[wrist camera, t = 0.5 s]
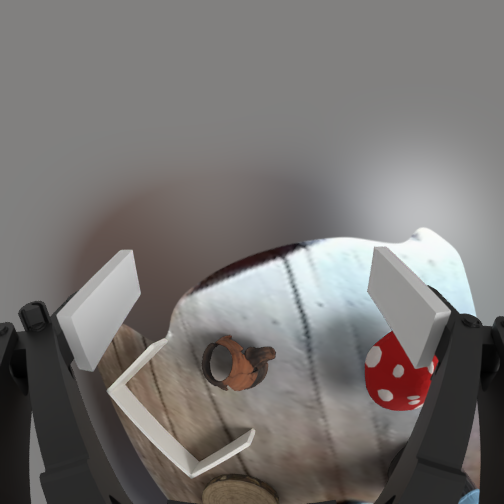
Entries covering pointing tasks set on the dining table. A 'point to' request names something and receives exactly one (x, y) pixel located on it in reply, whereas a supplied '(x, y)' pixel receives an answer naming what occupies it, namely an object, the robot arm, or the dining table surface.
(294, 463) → the dining table surface
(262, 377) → the pottery mug
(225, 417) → the dining table surface
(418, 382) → the decorative mushroom
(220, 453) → the bin
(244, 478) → the wood slice
